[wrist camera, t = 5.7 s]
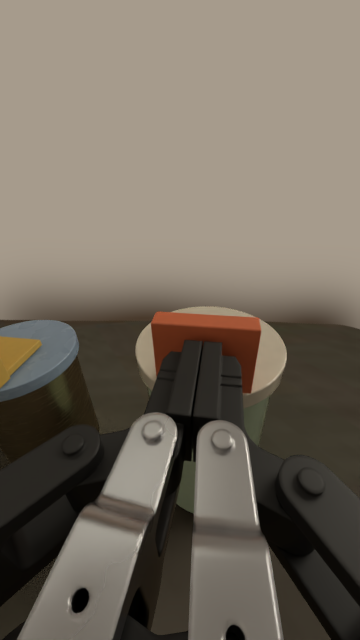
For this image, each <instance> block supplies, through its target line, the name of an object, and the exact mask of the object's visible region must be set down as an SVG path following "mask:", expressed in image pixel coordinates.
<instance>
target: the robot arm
mask: <svg viewBox="0 0 360 640" xmlns="http://www.w3.org/2000/svg"><path fill="white" fill-rule="evenodd" d="M192 452H193V462H196V471H195V496H194V521H193V534H192V556H191V580H190V604H189V629H188V631H186V632H180V633H174V634H167V635H156V634H154V633H152V632H151V627H152V622H153V618H154V613H155V609H156V604H157V599H158V595H159V589H160V583H161V577H162V567H163V560H164V555H165V550H166V546H167V542H168V537H169V533H170V528H171V524H172V520H173V515H174V511H175V506H176V502H177V498H178V493H179V489H180V482H181V478H182V472H183V465H184V461H190V462H191V460H192ZM266 540H267V541H266ZM267 542H268V544H269V546H270V547H271V549H272V551H273V552H274V554H275V555H276V557H277V558H278V560H279V561H280V563H281V564H282V566H283V567H284V569H285V570H286V572H287V573H288V575H289V576H290V578H291V579H292V581H293V582H294V584H295V585H296V587H297V588H298V590H299V591H300V593H301V594H302V596H303V597H304V599H305V600H306V602H307V603H308V605H309V606H310V608H311V609H312V611H313V612H314V614H315V615H316V617H317V619H318V620H319V622H320V623H321V625H322V626H323V628H324V629H325V631H326V632H327V634H328V635H329V637H330V638H331V640H360V498H359V497H358V496H357V495H356V494H355V493H353V492H352V491H351V490H350V489H349V488H348V487H347V486H346V485H345V484H344V483H343V482H342V481H341V480H340V479H339V478H338V477H337V476H336V475H335V474H334V473H333V472H332V471H331V470H330V469H329V468H328V467H326V466H325V465H324V464H323V463H321V462H320V461H318V460H316V459H314V458H312V457H309V456H305V455H293V456H290V457H288V458H286V459H285V460H284V459H282V458H280V457H278V456H275V455H273V454H271V453H269V452H267V451H265V450H263V449H261V448H260V447H258V446H257V445H256V444H255V443H254V442H253V441H252V440H251V439H250V437H249V436H248V434H247V432H246V429H245V426H244V411H243V391H242V372H241V365H240V363H239V362H238V360H237V359H236V357H235V356H224V355H222V342H210V341H204V345H203V341H195V340H184V344H183V348H182V351H181V352H175V351H171V352H170V353H169V354H168V355H167V356H166V357H165V358H164V359H163V360H162V363H161V366H160V370H159V372H158V375H157V379H156V381H155V384H154V387H153V390H152V393H151V396H150V398H149V401H148V404H147V407H146V410H145V413H144V415H143V416H141V417H140V418H138V419H137V420H136V421H135V422H134V423H133V425H132V426H131V427H130V428H128V429H126V430H123V431H119V432H113V433H107V434H102V435H99V433H98V431H97V430H96V429H95V428H94V427H93V426H90V425H86V424H80V425H75V426H72V427H69V428H67V429H66V430H64V431H62V432H61V433H59V434H57V435H56V436H54V437H53V438H51V439H49V440H48V441H46V442H44V443H43V444H41V445H40V446H38V447H36V448H35V449H33V450H32V451H30V452H28V453H27V454H25V455H24V456H22V457H20V458H19V459H17V460H15V461H14V462H12V463H11V464H9V465H7V466H6V467H4V468H3V469H1V470H0V606H2V605H3V604H4V603H5V602H6V601H7V600H8V599H9V598H11V597H12V596H13V595H14V594H15V593H16V592H17V591H18V590H20V589H21V588H22V587H23V586H24V585H25V584H26V583H27V582H29V581H30V580H31V579H32V578H33V577H34V576H35V575H36V574H38V573H39V572H40V571H41V570H42V569H43V568H44V567H46V566H47V565H48V564H49V563H50V562H51V561H52V560H53V559H55V558H56V557H57V556H58V557H57V559H56V561H55V563H54V565H53V567H52V569H51V571H50V573H49V575H48V577H47V579H46V581H45V583H44V585H43V587H42V589H41V591H40V593H39V595H38V598H37V600H36V602H35V604H34V606H33V608H32V610H31V612H30V614H29V616H28V618H27V620H26V621H25V622H23V623H22V624H20V625H19V626H18V627H17V628H15V629H14V630H13V631H12V632H10V633H9V634H8V635H7V636H6V637H5V638H4V639H3V640H284V639H283V632H282V626H281V620H280V613H279V607H278V601H277V595H276V588H275V582H274V576H273V569H272V563H271V557H270V552H269V548H268V544H267Z"/></svg>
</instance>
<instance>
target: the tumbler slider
mask: <svg viewBox="0 0 360 640" xmlns="http://www.w3.org/2000/svg"><path fill="white" fill-rule="evenodd" d="M41 345H42V343H41V341H40V340H37V339H25V338H13V337H2V336H0V388H1V387H2V386H3V385H4V384H5V383H6V382H7V381H8V380H9V379H10V376H11V375H12V374H13V373H14V372H15V371H16V370H17V369H18V368H19V367H20V366H21V365H22V364H23V363H24V362H25V361H26V360H27V359H28V358H29V357H30V356H31V355H32V354H33V353H34V352H35V351H36V350H37V349H38V348H39V347H40V346H41Z"/></svg>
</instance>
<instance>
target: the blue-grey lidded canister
mask: <svg viewBox="0 0 360 640" xmlns="http://www.w3.org/2000/svg"><path fill="white" fill-rule="evenodd" d="M0 336H2V337H13V338H25V339H37V340H40V341H41V343H42V345H41V346H40V347H39V348H38V349H37V350H36V351H35V352H34V353H33V354H32V355H31V356H30V357H29V358H28V359H27V360H26V361H25V362H24V363H23V364H22V365H21V366H20V367H19V368H18V369H17V370H16V371H15V372H14V373H13V374H12V375H11V376H10V379H9V380H8V381H7V382H6V383H5V384H4V385H3V386H2V387H1V388H0V448H1V450H2V451H3V453H4V454H5V456H6V457H7V459H8V460H9V462H10V463H12V462H14V461H15V460H17V459H19V458H20V457H22V456H24V455H25V454H27V453H28V452H30V451H32V450H33V449H35V448H36V447H38V446H40V445H41V444H43V443H44V442H46V441H48V440H49V439H51V438H53V437H54V436H56V435H57V434H59V433H61V432H62V431H64V430H66V429H67V428H69V427H72V426H75V425H80V424H86V425H90V426H93V427H94V428H95V429H96V430H97V431H98V433H99V425H98V421H97V418H96V414H95V411H94V408H93V405H92V402H91V398H90V395H89V392H88V389H87V386H86V382H85V379H84V376H83V373H82V370H81V366H80V363H79V360H78V357H77V353H78V349H79V343H78V339H77V335H76V333H75V331H74V330H73V328H72V327H70V326H69V325H67V324H65V323H63V322H60V321H54V320H34V321H27V322H22V323H17V324H13V325H10V326H7V327H3V328H1V329H0Z"/></svg>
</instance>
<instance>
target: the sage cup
mask: <svg viewBox="0 0 360 640" xmlns="http://www.w3.org/2000/svg"><path fill="white" fill-rule="evenodd" d="M173 313H190V314H207V315H223V316H240V317H254V316H252V315H250V314H247V313H244V312H241V311H238V310H233V309H229V308H223V307H210V306H209V307H208V306H203V307H190V308H184V309H180V310H176V311H173ZM260 325H261V337H260V343H259V349H258V355H257V361H256V367H255V373H254V379H253V385H252V391H251V393H250V394H248V393H243V411H244V426H245V429H246V432H247V434H248V436H249V437H250V439H251V440H252V441H253V442H254V443H255V444H256V445H257V446H258V447H259V444H260V440H261V435H262V431H263V427H264V422H265V418H266V413H267V409H268V404H269V400H270V396H271V393H273V392H274V390H275V389H276V388H277V387H278V385H279V384H280V382H281V380H282V377H283V373H284V369H285V365H286V361H287V353H286V347H285V345H284V342H283V340H282V339H281V337H280V336H279V334H278V333H277V332H276V331H275V330H274V329H273V328H272V327H271V326H269V325H268V324H267V323H265V322H264V321H262V320H260ZM135 355H136V361H137V367H138V371H139V374H140V376H141V378H142V380H143V381H144V383H145V384H146V385H147V390H148V397H149V398H150V396H151V393H152V390H153V387H154V384H155V381H156V379H157V377H156V368H155V359H154V349H153V340H152V331H151V323H150V324H149V325H147V326H146V327H145V329H144V330H143V331H142V332H141V334H140V335H139V337H138V340H137V342H136V347H135ZM195 471H196V462H193V452H192V460H191V462H190V461H184V465H183V472H182V478H181V482H180V489H179V493H178V498H177V502H176V504H177V505H179V506H180V507H182V508H183V509H185V510H187V511H189V512H191V513H194V496H195Z"/></svg>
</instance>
